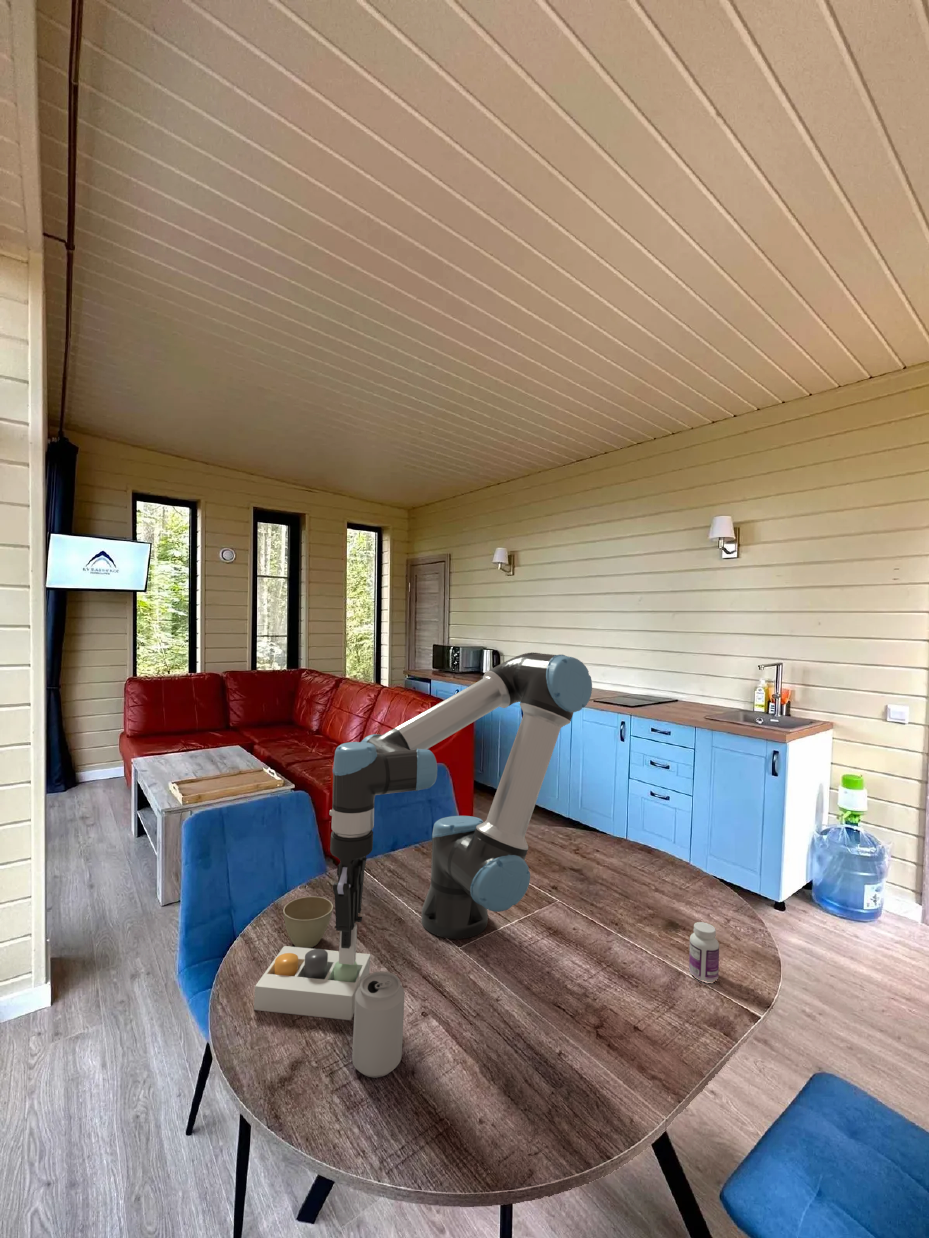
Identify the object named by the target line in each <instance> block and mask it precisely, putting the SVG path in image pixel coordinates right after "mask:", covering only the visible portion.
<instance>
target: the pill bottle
mask: <svg viewBox="0 0 929 1238" xmlns="http://www.w3.org/2000/svg"><path fill="white" fill-rule="evenodd" d="M716 935H717V930H716V928H715V926H713V925H712V924H710V923H707V922H703V921H698V922H695V923H694V924H693V932H692V933H691V934H690V937H689V954H688V955H689V960H688V961H689V962H688V963H689V964H688V971H690V972H689V974H690V973H691V974H692V975H694V976H695V977H696V978H698V979H700V980H704V981H707V982H713V981H715V980H717V979H718V980H719V972H720V970H719V969H720V966H719V965H720V963H719V962H720V943H719V941H718V939H717V938H716ZM691 974H690V975H691Z"/></svg>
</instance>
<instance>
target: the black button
mask: <svg viewBox="0 0 929 1238" xmlns="http://www.w3.org/2000/svg"><path fill="white" fill-rule="evenodd" d="M313 949H314V950H311V951H309V952H307V953H306V955H305V967H304V977H305V978H314V979H324V980H325V978H326V976H327V961H328V953H327V951H325V950H326V949H322V948H313Z"/></svg>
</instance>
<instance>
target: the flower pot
mask: <svg viewBox="0 0 929 1238" xmlns="http://www.w3.org/2000/svg"><path fill="white" fill-rule="evenodd" d="M333 910H334V905H333V902H332V901H331V900H329V899H327V898H325V897H322V896H310V895H309V896H303V897H299V898H295V899H293V900H291V901H289V902H287V904H285V905H284V907H283V910H282V913H283V914H282V915H283V920H284V921H283V922H284V925H285V929H286V932H287V934H288V937H289V939H290V940H291V942H292V944H293V946H294V947H301V948H311V949H313V947H315V946H317V945H318V944H319V942H320V941H321V940H322V938H323V936H324V935H325V932H326V931H327V929H328V927H329V924H330V922H331V918H332V915H333Z"/></svg>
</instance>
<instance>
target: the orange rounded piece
mask: <svg viewBox="0 0 929 1238" xmlns="http://www.w3.org/2000/svg"><path fill="white" fill-rule="evenodd" d="M275 958H276V957H275ZM297 971H298V956H297V955H296V954H293V953H285V954H282V955H280V956H278V957H277V958H276V960H275V973H274V974H275V975H285V976H295V974H296V973H297Z"/></svg>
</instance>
